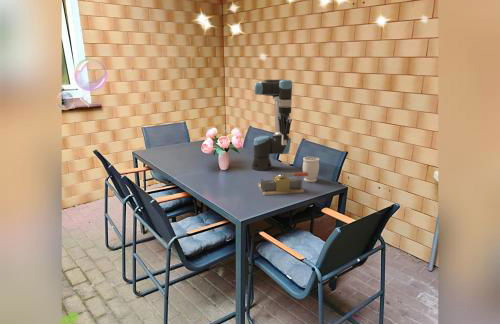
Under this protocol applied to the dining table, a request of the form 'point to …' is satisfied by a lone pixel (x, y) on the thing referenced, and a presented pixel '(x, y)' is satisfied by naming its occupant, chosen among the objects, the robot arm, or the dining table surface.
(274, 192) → the board
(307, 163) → the jar
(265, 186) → the valve pipe
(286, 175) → the lever
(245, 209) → the dining table surface
